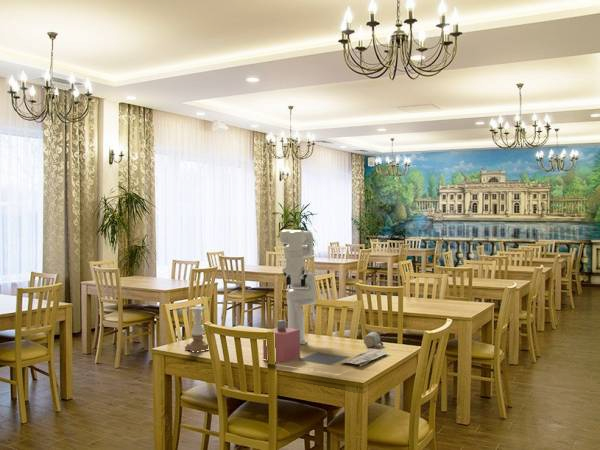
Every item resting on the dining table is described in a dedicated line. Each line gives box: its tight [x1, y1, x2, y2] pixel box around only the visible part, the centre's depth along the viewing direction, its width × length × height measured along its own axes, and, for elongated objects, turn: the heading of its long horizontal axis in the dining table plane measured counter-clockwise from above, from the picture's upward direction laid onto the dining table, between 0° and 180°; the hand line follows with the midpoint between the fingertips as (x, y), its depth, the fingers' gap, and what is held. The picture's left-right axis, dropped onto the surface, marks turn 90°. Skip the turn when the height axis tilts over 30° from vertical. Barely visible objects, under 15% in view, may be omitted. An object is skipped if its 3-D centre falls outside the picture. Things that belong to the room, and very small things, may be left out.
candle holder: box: [184, 305, 209, 352], centre depth 330 cm, size 11×11×24 cm
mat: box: [297, 352, 350, 366], centre depth 304 cm, size 20×20×1 cm
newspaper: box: [341, 348, 388, 368], centre depth 302 cm, size 35×12×4 cm, turn 150°
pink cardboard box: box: [262, 319, 301, 364], centre depth 306 cm, size 13×14×20 cm
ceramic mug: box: [363, 331, 384, 348], centre depth 334 cm, size 11×8×8 cm
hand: (295, 285), depth 318 cm, fingers open, 9 cm apart
